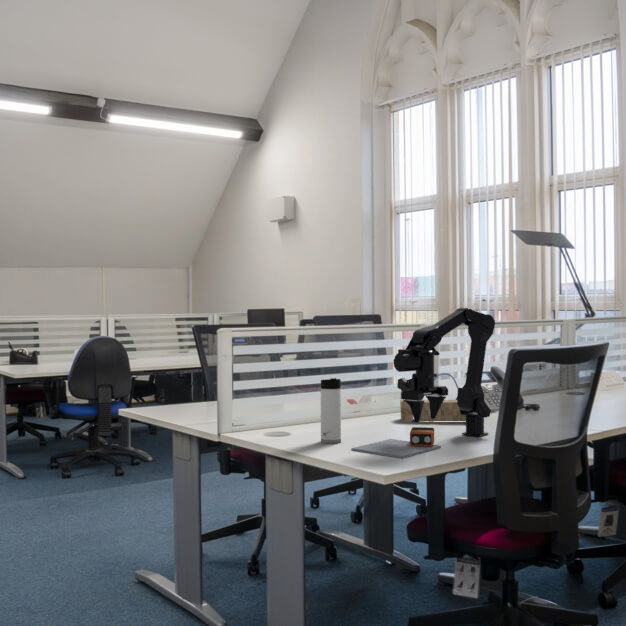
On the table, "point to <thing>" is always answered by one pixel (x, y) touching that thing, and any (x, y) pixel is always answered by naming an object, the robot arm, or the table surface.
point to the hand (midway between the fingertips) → (425, 420)
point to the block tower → (445, 413)
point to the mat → (394, 448)
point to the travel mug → (331, 411)
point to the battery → (422, 437)
